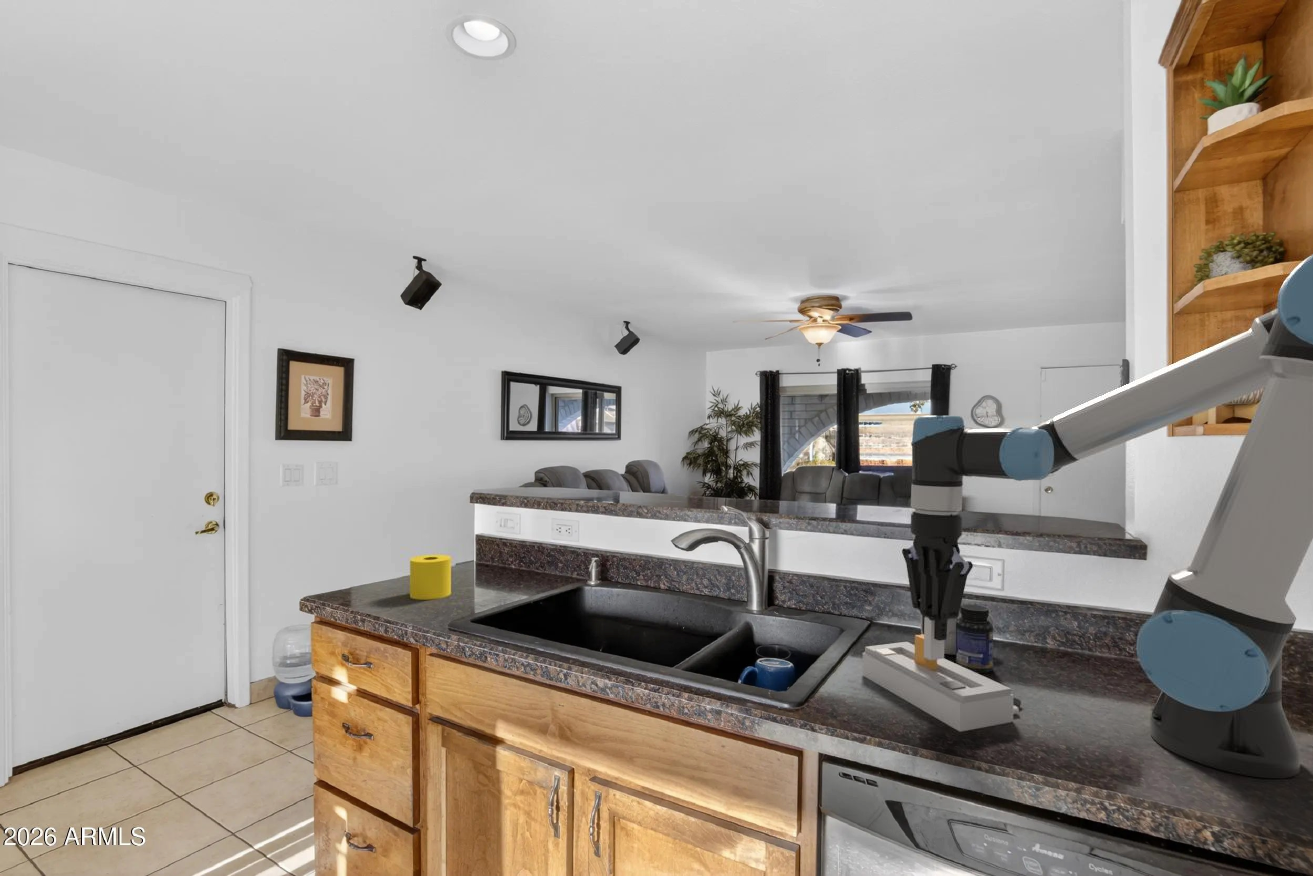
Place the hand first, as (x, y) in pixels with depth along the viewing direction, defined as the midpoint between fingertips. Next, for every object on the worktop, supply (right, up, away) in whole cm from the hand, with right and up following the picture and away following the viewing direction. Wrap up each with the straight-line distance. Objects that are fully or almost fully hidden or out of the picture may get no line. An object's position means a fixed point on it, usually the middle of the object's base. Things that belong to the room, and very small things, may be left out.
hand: (933, 657), depth 101 cm
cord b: (+8, -7, +5) cm, 11 cm away
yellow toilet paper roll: (-104, -6, +63) cm, 121 cm away
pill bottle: (+13, -7, +14) cm, 20 cm away
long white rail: (+6, -7, +3) cm, 9 cm away
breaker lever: (-1, -2, +2) cm, 3 cm away
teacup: (+15, -7, +23) cm, 28 cm away
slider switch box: (0, -7, +1) cm, 7 cm away
